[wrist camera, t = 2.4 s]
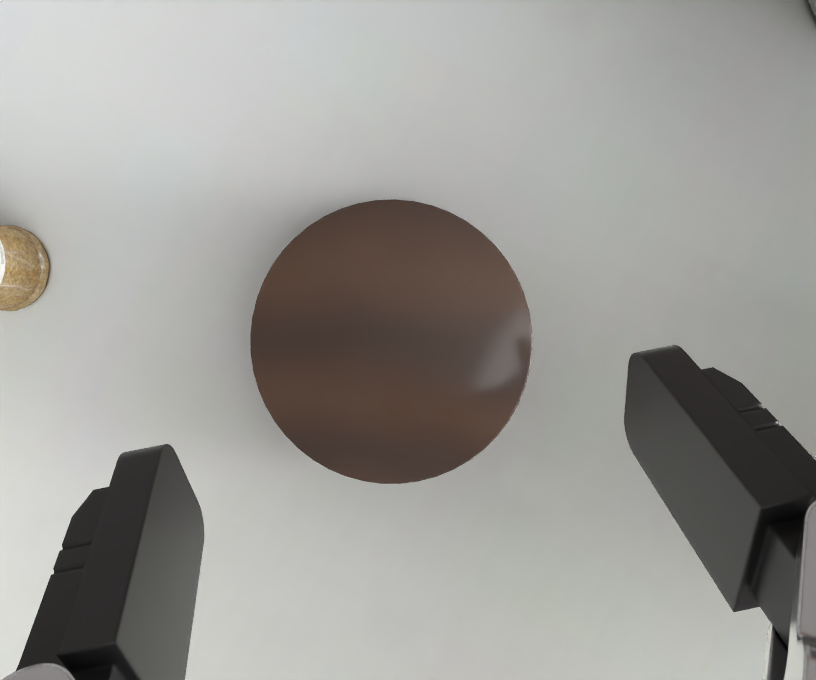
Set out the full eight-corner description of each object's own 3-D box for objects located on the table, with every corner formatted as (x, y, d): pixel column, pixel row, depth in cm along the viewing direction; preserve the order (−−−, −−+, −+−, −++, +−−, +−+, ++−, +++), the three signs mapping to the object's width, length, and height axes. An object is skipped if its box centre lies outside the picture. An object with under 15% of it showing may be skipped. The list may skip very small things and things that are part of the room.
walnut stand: (306, 202, 33) (275, 179, 28) (543, 241, 32) (556, 223, 27) (265, 435, 33) (228, 453, 28) (499, 482, 32) (503, 510, 27)
